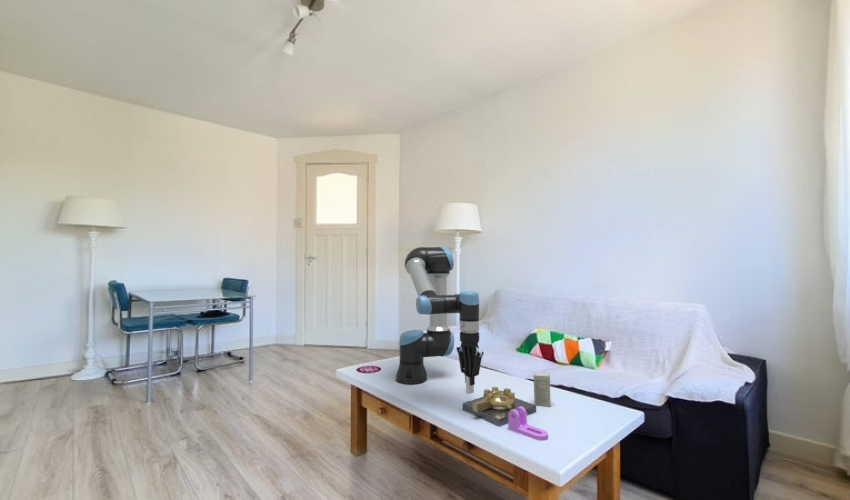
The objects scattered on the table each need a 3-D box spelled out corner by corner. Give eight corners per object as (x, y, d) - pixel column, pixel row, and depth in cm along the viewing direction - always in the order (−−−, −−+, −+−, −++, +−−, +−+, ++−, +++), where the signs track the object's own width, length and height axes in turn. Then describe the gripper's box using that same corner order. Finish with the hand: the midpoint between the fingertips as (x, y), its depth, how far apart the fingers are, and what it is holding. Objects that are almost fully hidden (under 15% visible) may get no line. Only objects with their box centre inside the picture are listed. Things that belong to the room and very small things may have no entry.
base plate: (462, 409, 151) (462, 403, 151) (499, 397, 164) (498, 391, 164) (506, 429, 133) (506, 422, 133) (544, 414, 146) (543, 408, 146)
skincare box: (550, 403, 158) (550, 373, 158) (550, 407, 154) (550, 376, 154) (534, 401, 160) (534, 371, 160) (533, 405, 156) (533, 374, 156)
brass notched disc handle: (497, 395, 159) (497, 384, 159) (521, 404, 149) (521, 392, 149) (463, 406, 147) (463, 394, 147) (486, 416, 137) (486, 404, 138)
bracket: (508, 429, 134) (508, 409, 134) (517, 424, 138) (517, 405, 138) (542, 442, 125) (542, 420, 125) (551, 436, 129) (550, 415, 129)
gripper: (451, 330, 153) (451, 390, 152) (474, 335, 143) (474, 399, 142) (465, 328, 158) (465, 386, 157) (488, 332, 147) (489, 395, 146)
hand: (469, 392), depth 149 cm, fingers closed
